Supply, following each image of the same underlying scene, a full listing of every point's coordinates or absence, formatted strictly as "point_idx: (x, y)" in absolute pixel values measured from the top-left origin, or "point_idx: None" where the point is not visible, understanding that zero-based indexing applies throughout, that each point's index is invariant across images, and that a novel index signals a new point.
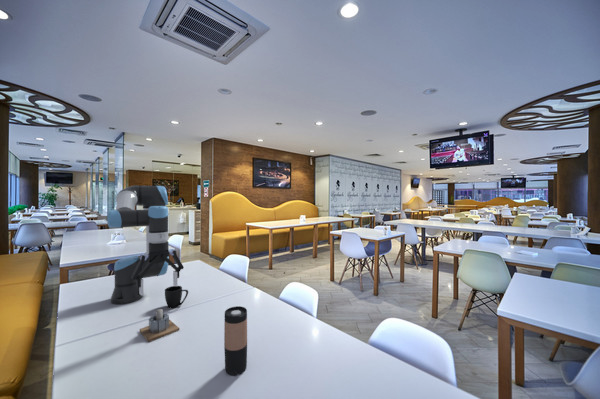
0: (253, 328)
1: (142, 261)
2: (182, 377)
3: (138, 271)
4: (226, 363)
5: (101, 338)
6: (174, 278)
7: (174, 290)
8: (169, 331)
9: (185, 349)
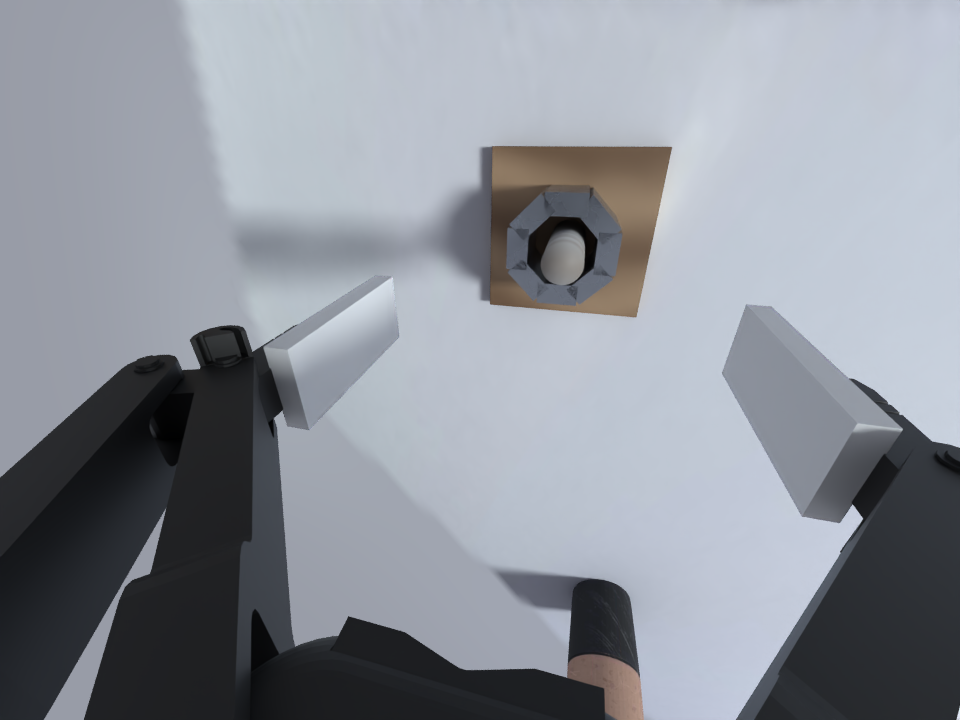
0: (834, 549)
1: None
2: (495, 525)
3: (140, 519)
4: (571, 618)
5: (333, 58)
6: (770, 393)
7: None
8: (585, 309)
9: (564, 448)
